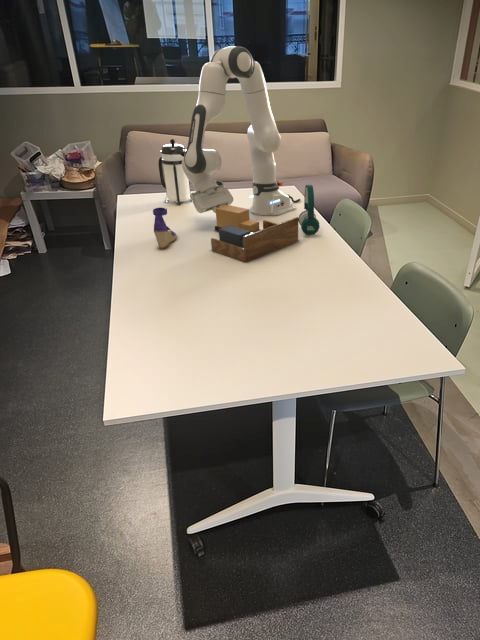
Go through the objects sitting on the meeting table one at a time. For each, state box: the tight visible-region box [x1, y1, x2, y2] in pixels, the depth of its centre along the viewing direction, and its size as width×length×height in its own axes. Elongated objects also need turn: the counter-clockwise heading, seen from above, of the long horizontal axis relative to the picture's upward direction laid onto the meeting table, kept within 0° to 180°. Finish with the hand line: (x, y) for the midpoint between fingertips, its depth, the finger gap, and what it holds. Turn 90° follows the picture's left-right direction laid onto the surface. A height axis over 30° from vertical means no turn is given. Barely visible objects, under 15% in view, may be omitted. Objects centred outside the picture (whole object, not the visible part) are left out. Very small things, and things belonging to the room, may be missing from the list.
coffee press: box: [158, 138, 193, 206], centre depth 257 cm, size 17×16×30 cm
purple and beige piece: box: [152, 207, 177, 250], centre depth 210 cm, size 8×20×15 cm, turn 174°
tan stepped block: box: [214, 204, 261, 233], centre depth 222 cm, size 20×8×10 cm, turn 56°
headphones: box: [298, 184, 320, 236], centre depth 220 cm, size 8×15×20 cm, turn 5°
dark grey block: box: [218, 225, 251, 248], centre depth 204 cm, size 20×7×8 cm, turn 50°
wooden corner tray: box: [210, 216, 299, 263], centre depth 208 cm, size 20×32×10 cm, turn 140°
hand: (222, 215), depth 227 cm, fingers closed
